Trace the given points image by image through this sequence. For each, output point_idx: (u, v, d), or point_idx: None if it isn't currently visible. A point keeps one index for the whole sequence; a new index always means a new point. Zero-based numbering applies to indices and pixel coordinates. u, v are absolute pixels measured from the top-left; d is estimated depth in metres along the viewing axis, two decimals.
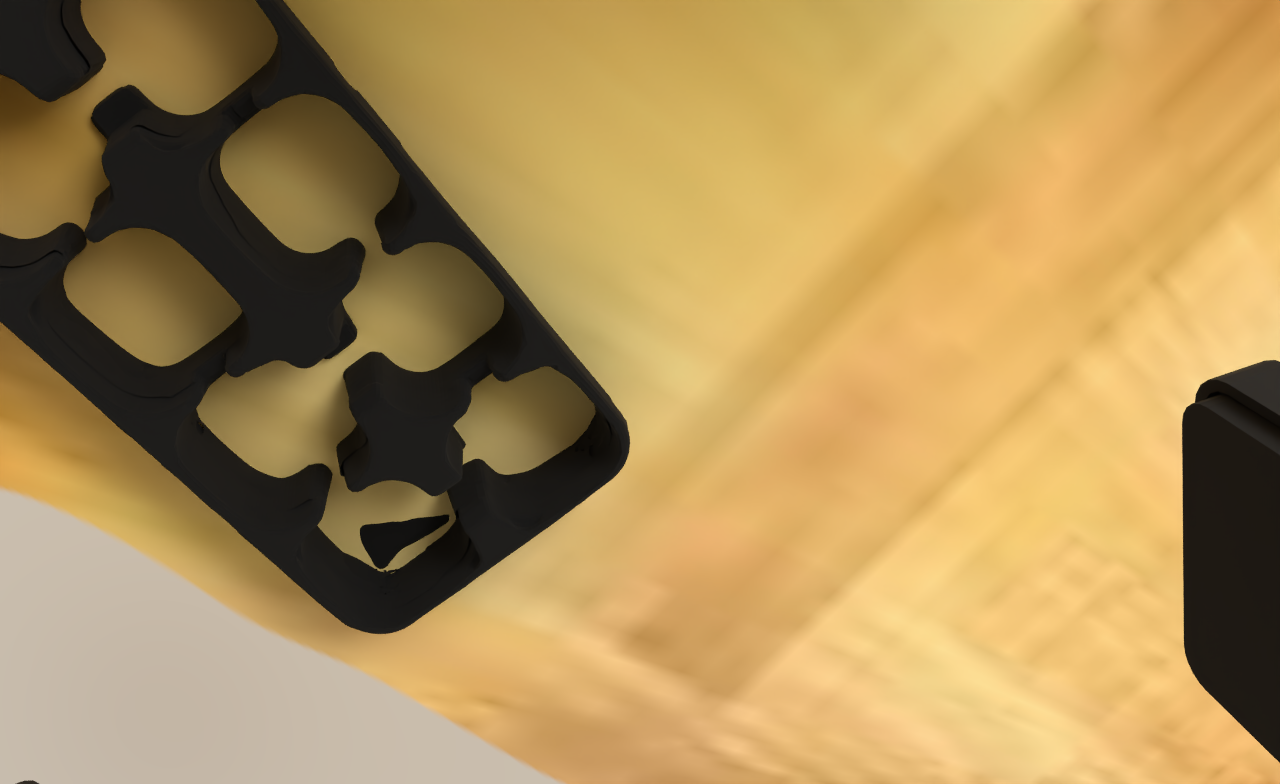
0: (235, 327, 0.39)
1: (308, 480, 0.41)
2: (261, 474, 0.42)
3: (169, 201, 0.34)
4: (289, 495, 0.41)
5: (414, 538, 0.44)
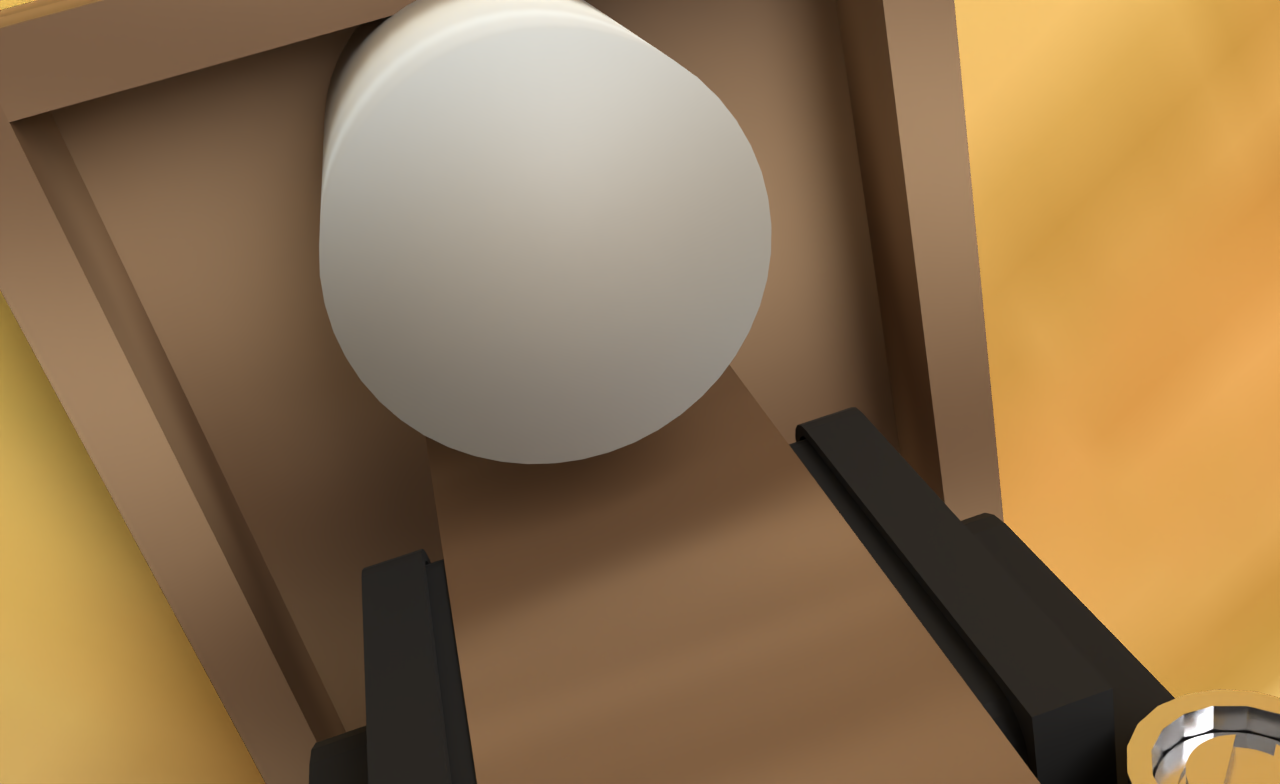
0: None
1: None
2: None
3: None
4: None
5: None
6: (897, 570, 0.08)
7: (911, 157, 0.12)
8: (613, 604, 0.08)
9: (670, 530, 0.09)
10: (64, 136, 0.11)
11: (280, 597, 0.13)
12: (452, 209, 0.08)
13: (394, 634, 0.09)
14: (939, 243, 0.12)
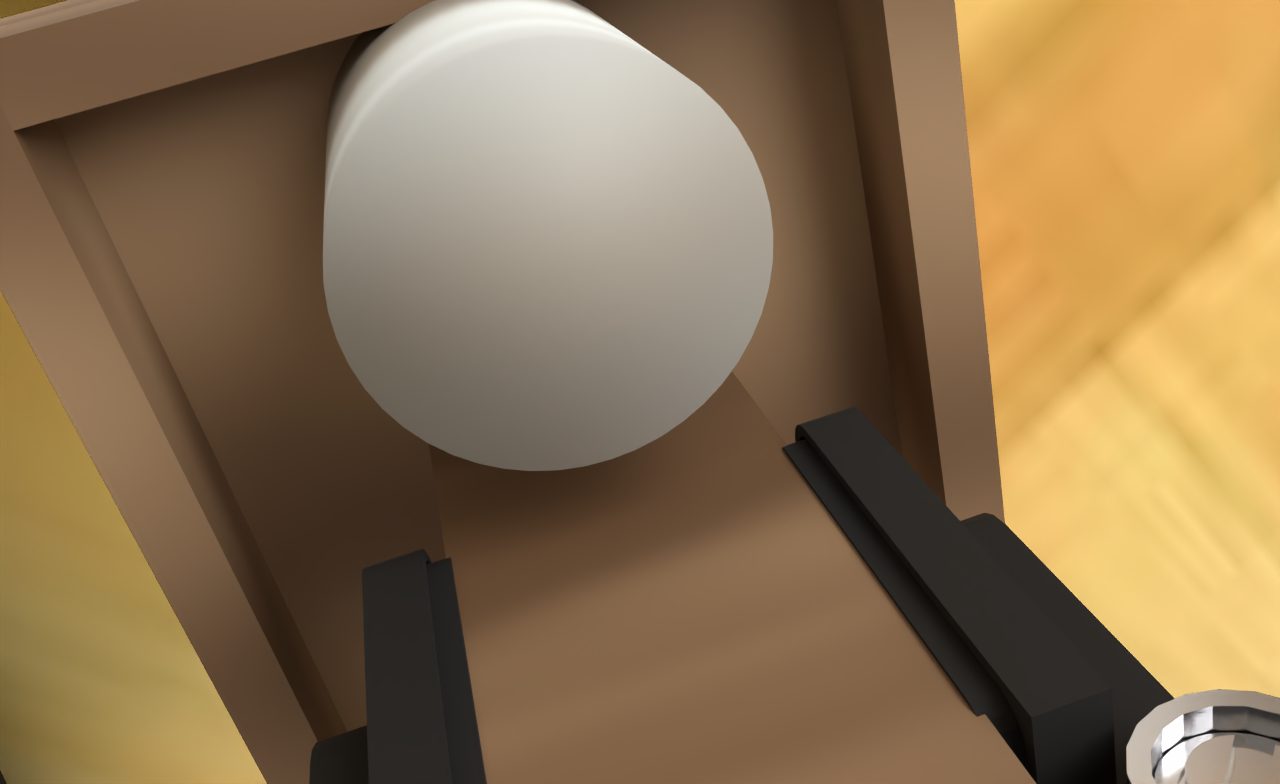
0: None
1: None
2: None
3: None
4: None
5: None
6: (897, 570, 0.08)
7: (912, 162, 0.12)
8: (616, 610, 0.08)
9: (674, 534, 0.09)
10: (68, 143, 0.11)
11: (283, 601, 0.13)
12: (455, 219, 0.08)
13: (395, 634, 0.09)
14: (940, 248, 0.12)
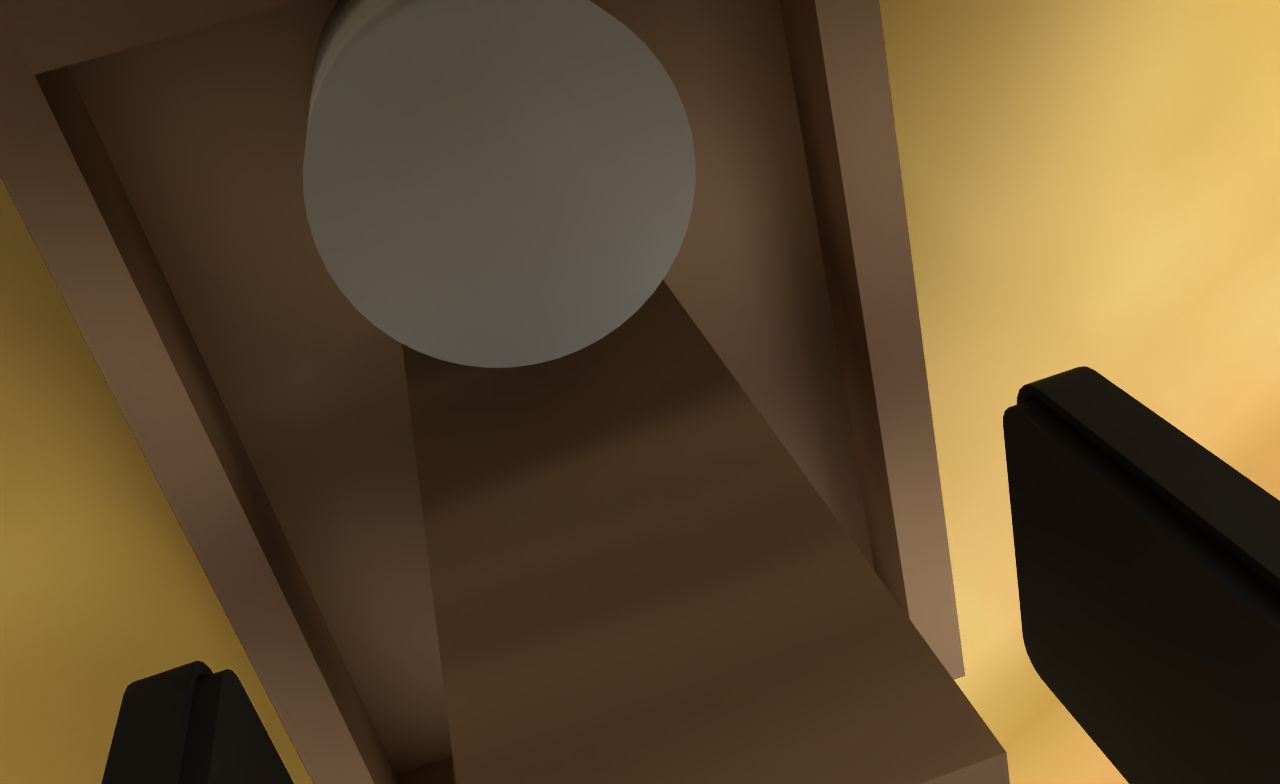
0: None
1: None
2: None
3: None
4: None
5: None
6: (1182, 526, 0.08)
7: (839, 111, 0.13)
8: (558, 484, 0.10)
9: (613, 426, 0.10)
10: (81, 92, 0.12)
11: (276, 518, 0.15)
12: (416, 140, 0.09)
13: (137, 768, 0.08)
14: (868, 190, 0.13)
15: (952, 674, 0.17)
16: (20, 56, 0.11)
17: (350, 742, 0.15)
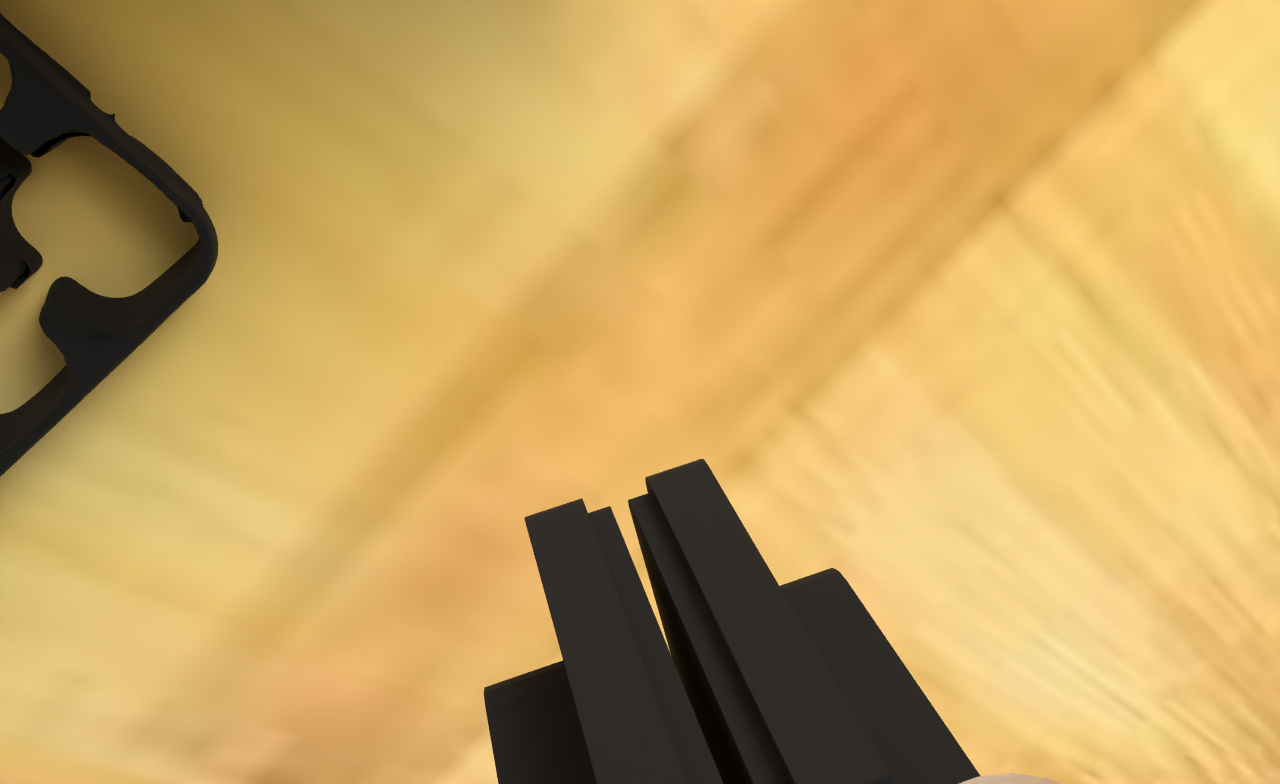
0: None
1: None
2: None
3: None
4: None
5: None
6: (712, 638, 0.08)
7: None
8: None
9: None
10: None
11: None
12: None
13: (573, 577, 0.09)
14: None
15: None
16: None
17: None
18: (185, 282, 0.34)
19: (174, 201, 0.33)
